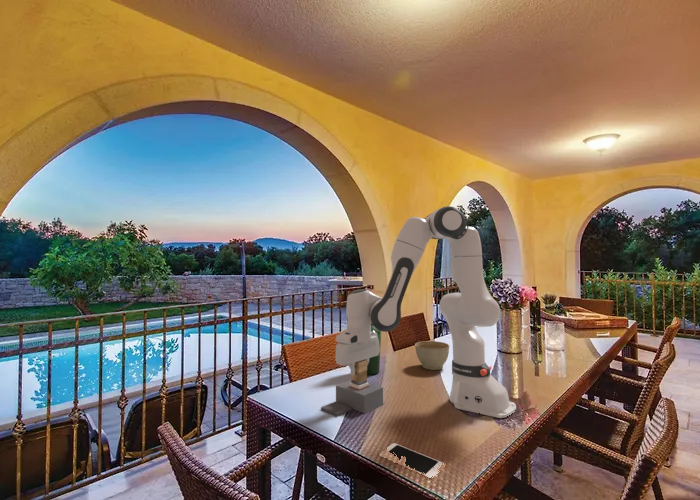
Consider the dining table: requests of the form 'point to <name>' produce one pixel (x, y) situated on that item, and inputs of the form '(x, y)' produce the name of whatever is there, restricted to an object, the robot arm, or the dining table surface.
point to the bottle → (374, 361)
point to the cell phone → (416, 460)
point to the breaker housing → (359, 397)
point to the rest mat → (336, 408)
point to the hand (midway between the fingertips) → (359, 372)
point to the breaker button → (359, 386)
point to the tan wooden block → (360, 373)
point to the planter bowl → (432, 354)
